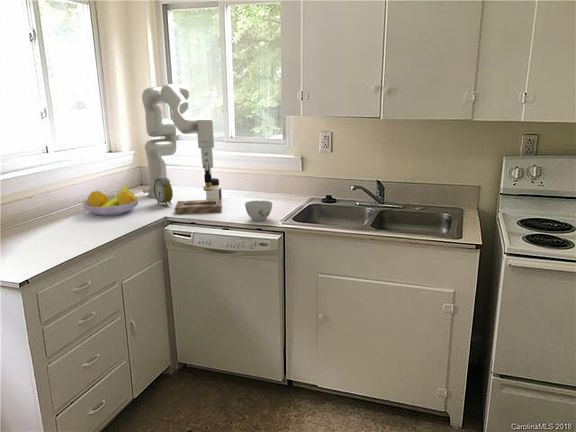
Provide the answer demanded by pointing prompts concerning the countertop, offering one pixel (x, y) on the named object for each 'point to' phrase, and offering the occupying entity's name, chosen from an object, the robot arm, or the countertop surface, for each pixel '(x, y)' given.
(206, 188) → the peg
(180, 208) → the keyhole plate
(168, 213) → the countertop surface
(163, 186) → the alarm clock
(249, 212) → the teacup
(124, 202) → the fruit bowl
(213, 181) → the medicine bottle
